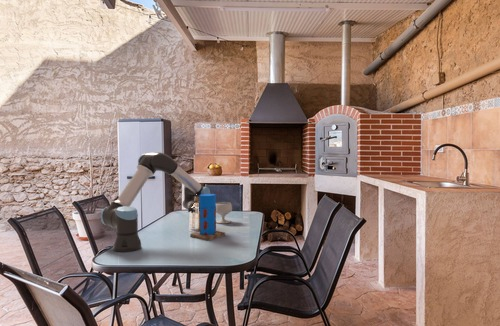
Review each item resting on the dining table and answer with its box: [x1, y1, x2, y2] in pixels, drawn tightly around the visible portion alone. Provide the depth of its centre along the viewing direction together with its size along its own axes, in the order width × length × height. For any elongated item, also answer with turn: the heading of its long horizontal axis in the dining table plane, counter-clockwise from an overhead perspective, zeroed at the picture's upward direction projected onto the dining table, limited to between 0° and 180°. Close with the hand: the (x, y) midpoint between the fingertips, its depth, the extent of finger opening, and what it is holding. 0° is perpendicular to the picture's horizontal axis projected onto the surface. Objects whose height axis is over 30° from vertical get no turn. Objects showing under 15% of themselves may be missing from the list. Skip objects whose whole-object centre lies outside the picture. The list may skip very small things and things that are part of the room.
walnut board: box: [189, 230, 226, 241], centre depth 227 cm, size 16×16×2 cm
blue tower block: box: [198, 193, 217, 235], centre depth 226 cm, size 11×11×25 cm
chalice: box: [216, 201, 233, 224], centre depth 271 cm, size 14×14×15 cm
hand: (207, 210), depth 227 cm, fingers open, 13 cm apart
